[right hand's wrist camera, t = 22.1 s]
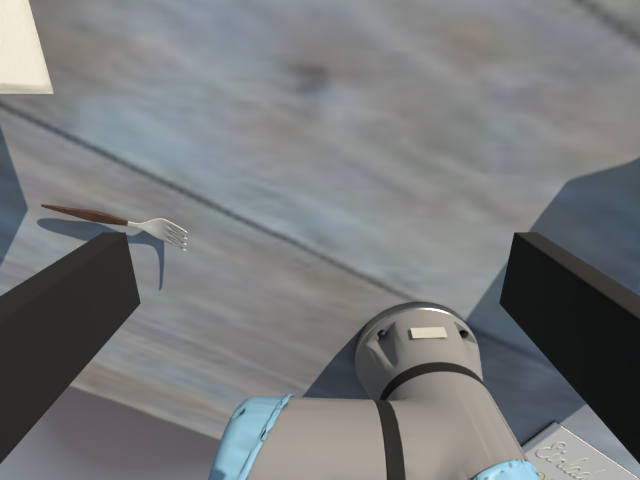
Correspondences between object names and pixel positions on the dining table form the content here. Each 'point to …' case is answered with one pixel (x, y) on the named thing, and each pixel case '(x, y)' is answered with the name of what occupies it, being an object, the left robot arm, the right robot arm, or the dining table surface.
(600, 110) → the dining table surface
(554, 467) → the invitation card
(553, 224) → the dining table surface
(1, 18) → the bin
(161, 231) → the fork
